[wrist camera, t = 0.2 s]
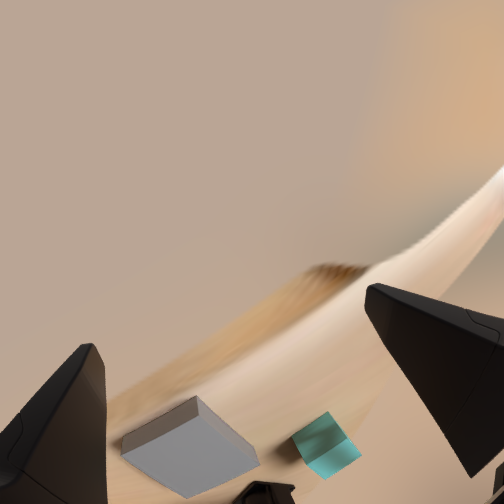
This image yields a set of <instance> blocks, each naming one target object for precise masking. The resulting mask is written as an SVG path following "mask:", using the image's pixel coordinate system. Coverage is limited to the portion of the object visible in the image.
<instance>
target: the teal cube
mask: <svg viewBox="0 0 504 504" xmlns="http://www.w3.org/2000/svg"><path fill="white" fill-rule="evenodd" d="M291 437H292V439H293V441H294V442H295V444H296V446H297V448H298V450H299V452H300V454H301V456H302V458H303V460H304V461H305V463H306V465H307V466H308V467H309V468H311V469H312V470H313V471H314V472H316V473H317V474H318V475H319V476H321V477H322V478H323V479H327V478H329V477H330V476H332V475H333V474H335V473H337V472H338V471H339V470H341V469H343V468H344V467H345V466H347V465H349V464H350V463H352V462H353V461H355V460H356V459H357V458H359V457H360V456H362V455H361V453H360V452H359V451H358V449H357V448H356V447H355V446H354V444H353V443H352V441H351V440H350V439H349V437H348V436H347V435H346V433H345V432H344V431H343V430H342V428H341V427H340V426H339V425H338V423H337V422H336V421H335V420H334V418H333V417H332V416H331V415H330V413H329V412H326V413H325V414H324V415H322V416H321V417H319V418H318V419H316V420H315V421H313V422H312V423H310V424H309V425H307V426H306V427H304V428H303V429H301V430H300V431H298V432H297V433H295V434H293V435H292V436H291Z"/></svg>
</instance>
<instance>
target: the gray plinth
mask: <svg viewBox="0 0 504 504" xmlns="http://www.w3.org/2000/svg"><path fill="white" fill-rule="evenodd" d="M120 456H121V457H123V458H124V459H125V460H127V461H128V462H129V463H131V464H132V465H134V466H135V467H136V468H138V469H139V470H141V471H142V472H144V473H145V474H147V475H148V476H150V477H151V478H153V479H154V480H156V481H157V482H159V483H161V484H162V485H164V486H166V487H167V488H169V489H170V490H172V491H174V492H176V493H177V494H179V495H181V496H183V497H184V498H186V499H187V498H190V497H193V496H195V495H198V494H200V493H202V492H205V491H207V490H209V489H212V488H214V487H216V486H219V485H221V484H223V483H225V482H227V481H229V480H232V479H234V478H236V477H238V476H240V475H242V474H244V473H246V472H248V471H250V470H252V469H254V468H255V467H257V466H259V465H260V463H259V460H258V458H257V455H256V452H255V449H254V447H253V446H252V445H251V444H250V443H249V442H247V441H246V440H245V439H244V438H243V437H241V436H240V435H239V434H238V433H237V432H236V431H234V430H233V429H232V428H231V427H230V426H229V425H228V424H226V423H225V422H224V421H223V420H222V419H221V418H220V417H219V416H218V415H216V414H215V413H214V412H213V411H212V410H211V409H210V408H209V407H208V406H207V405H206V404H205V403H204V402H203V401H201V400H200V399H199V398H198V397H197V396H195V397H194V398H192V399H190V400H189V401H187V402H185V403H183V404H182V405H180V406H178V407H177V408H175V409H173V410H171V411H170V412H168V413H166V414H164V415H163V416H161V417H159V418H157V419H155V420H154V421H152V422H150V423H148V424H146V425H144V426H142V427H141V428H139V429H137V430H135V431H133V432H131V433H129V434H127V435H125V436H123V441H122V448H121V454H120Z"/></svg>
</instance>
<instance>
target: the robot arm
mask: <svg viewBox="0 0 504 504" xmlns="http://www.w3.org/2000/svg"><path fill="white" fill-rule="evenodd" d="M364 307H365V312H366V314H367V315H368V317H369V319H370V321H371V322H372V324H373V326H374V328H375V329H376V331H377V333H378V335H379V337H380V338H381V340H382V342H383V344H384V345H385V347H386V348H387V350H388V351H389V353H390V354H391V355H392V357H393V358H394V360H395V361H396V363H397V364H398V365H399V367H400V368H401V370H402V371H403V373H404V374H405V376H406V377H407V379H408V380H409V381H410V383H411V384H412V386H413V387H414V389H415V390H416V392H417V393H418V395H419V396H420V398H421V400H422V401H423V402H424V404H425V406H426V407H427V409H428V410H429V412H430V413H431V415H432V416H433V418H434V420H435V421H436V423H437V424H438V426H439V427H440V429H441V431H442V432H443V433H444V436H445V437H446V439H447V440H448V442H449V444H450V445H451V447H452V449H453V450H454V452H455V453H456V455H457V457H458V458H459V460H460V462H461V463H462V465H463V467H464V468H465V470H466V472H467V474H468V475H469V477H470V478H472V477H474V476H475V475H476V474H477V473H478V472H479V471H480V470H482V469H483V468H484V467H485V466H486V465H487V464H488V463H489V462H491V461H492V460H493V459H494V458H495V457H496V456H497V455H498V454H499V453H500V452H501V451H502V450H503V449H504V319H503V318H498V317H495V316H490V315H486V314H482V313H479V312H476V311H472V310H469V309H464V308H462V307H458V306H455V305H452V304H448V303H445V302H442V301H438V300H435V299H432V298H428V297H425V296H422V295H418V294H415V293H411V292H408V291H405V290H401V289H398V288H394V287H391V286H388V285H384V284H381V283H375V284H372V285H369V286H368V287H367V290H366V297H365V305H364ZM105 387H106V386H105V366H104V363H103V361H102V359H101V357H100V355H99V353H98V351H97V349H96V347H95V345H94V344H92V343H88V344H82V345H80V346H79V348H77V349H76V350H75V352H73V354H72V355H71V356H70V357H69V358H68V359H67V360H66V361H65V362H64V363H63V364H62V365H61V366H60V367H59V368H58V370H57V371H56V372H55V373H54V374H53V375H52V376H51V377H50V378H49V379H48V380H47V381H46V382H45V384H44V385H43V386H42V387H41V388H40V389H39V390H38V391H37V392H36V393H35V395H34V396H33V397H32V398H31V399H30V400H29V401H28V402H27V404H26V405H25V406H24V407H23V408H22V409H21V411H20V413H18V414H17V415H16V416H15V417H14V419H13V420H12V421H11V422H10V423H9V424H8V425H7V427H6V428H5V429H4V430H3V431H2V432H1V433H0V504H108V499H107V481H106V419H107V404H106V388H105ZM294 489H295V486H294V485H288V484H277V483H268V482H260V481H256V482H253V483H252V484H251V485H250V486H249V487H248V488H247V490H246V491H245V492H244V493H243V494H242V495H241V496H240V497H239V498H238V499H237V500H236V501H235V502H234V503H233V504H295V502H294V500H293V498H292V496H291V494H290V493H291V492H292V491H293V490H294ZM485 504H504V462H503V463H502V464H501V465H500V466H499V467H498V468H497V469H496V474H495V482H494V489H493V496H492V497H491V498H490V499H489V500H488V501H487V502H486V503H485Z"/></svg>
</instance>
